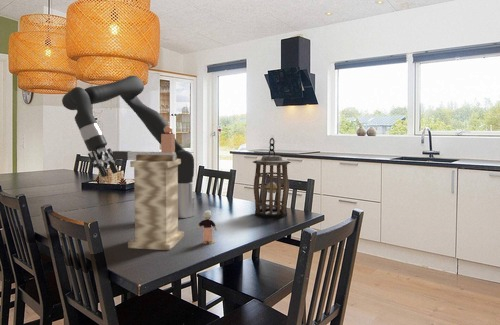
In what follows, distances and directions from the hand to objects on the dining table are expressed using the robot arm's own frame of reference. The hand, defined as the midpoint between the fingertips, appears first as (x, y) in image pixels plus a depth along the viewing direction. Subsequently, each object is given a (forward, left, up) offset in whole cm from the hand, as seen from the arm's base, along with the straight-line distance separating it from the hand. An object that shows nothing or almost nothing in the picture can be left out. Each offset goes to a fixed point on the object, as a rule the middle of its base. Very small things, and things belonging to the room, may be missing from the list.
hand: (110, 174), depth 150 cm
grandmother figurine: (-30, +27, -26) cm, 47 cm away
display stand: (-14, +16, -25) cm, 33 cm away
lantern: (-80, +1, -26) cm, 84 cm away
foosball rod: (-10, +12, +7) cm, 17 cm away
